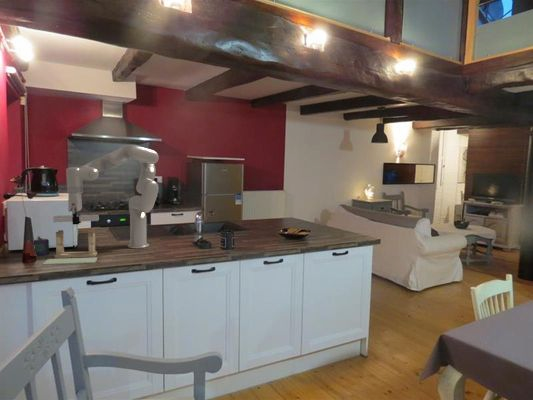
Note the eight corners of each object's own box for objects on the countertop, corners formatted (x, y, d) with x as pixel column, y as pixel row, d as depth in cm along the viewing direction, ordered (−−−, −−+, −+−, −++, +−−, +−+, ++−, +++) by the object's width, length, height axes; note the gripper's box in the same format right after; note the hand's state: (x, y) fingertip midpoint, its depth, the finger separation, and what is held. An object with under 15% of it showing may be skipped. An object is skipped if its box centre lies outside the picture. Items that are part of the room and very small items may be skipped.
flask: (29, 257, 198) (28, 237, 197) (29, 255, 201) (29, 236, 200) (49, 255, 202) (48, 236, 201) (49, 254, 205) (49, 235, 204)
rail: (55, 221, 200) (54, 215, 200) (98, 219, 206) (98, 214, 206) (53, 222, 198) (53, 216, 197) (97, 220, 203) (97, 215, 203)
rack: (57, 255, 204) (57, 230, 202) (97, 253, 209) (96, 229, 207) (54, 258, 198) (53, 232, 196) (94, 256, 203) (94, 231, 202)
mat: (48, 260, 194) (48, 259, 194) (97, 258, 200) (97, 257, 200) (42, 265, 185) (42, 263, 185) (94, 263, 191) (94, 262, 191)
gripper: (71, 188, 206) (73, 221, 209) (63, 191, 191) (65, 226, 193) (85, 188, 208) (87, 220, 211) (79, 191, 193) (80, 226, 195)
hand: (76, 223), depth 202 cm, fingers closed on rail, 3 cm apart
